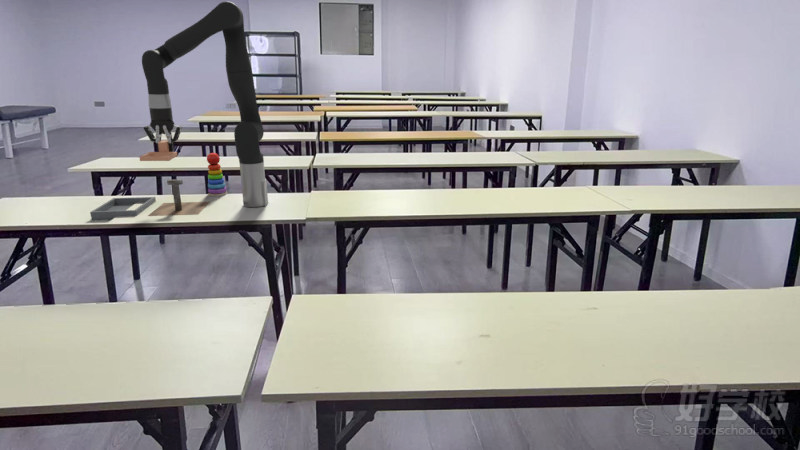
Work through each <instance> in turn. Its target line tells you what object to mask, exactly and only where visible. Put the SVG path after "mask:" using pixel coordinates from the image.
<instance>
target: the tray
mask: <svg viewBox="0 0 800 450" xmlns="http://www.w3.org/2000/svg"><path fill="white" fill-rule="evenodd" d="M155 202H157V200H156V196H145V197H144V196H143V197H141V196H140V197H138V196H137V197H113V198H111V199H110V200H108V201H106V202H104V203H102V204H101V205H100V206H98V207H96V208H95V209H93V210H91V211H90V212H89V213H90V217H91V218H90V219H91V221H102V220H105V221H106V220H114V219H116V218H117V217H133V216H134V217H135V216H138V215H140V214H141V213H142V212H144V211H145V210H146V209H148V208H149V207H151V206H152V205H153V204H155ZM137 203H138V204H139V203H142V204H140V206H138V207H136V208H135V209H130V210H128V209H129V208H131V207H132V206H134V205H135V204H137Z"/></svg>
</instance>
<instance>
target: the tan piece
mask: <svg viewBox="0 0 800 450" xmlns="http://www.w3.org/2000/svg"><path fill="white" fill-rule="evenodd" d="M158 147H159V152H158V151H149V152H148V151H147V153H144V154H142V155H140V156H138V157H139V161H140V162H170V161H172V160H173V159H175V158H177V157H178V152H177V151H173V152H169V147H168V140H161V141H160V142H158Z"/></svg>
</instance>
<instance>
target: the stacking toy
mask: <svg viewBox="0 0 800 450" xmlns="http://www.w3.org/2000/svg"><path fill="white" fill-rule="evenodd" d="M220 158H221V157H220V156H219V154H218V153H216V152H210V153H209V154H207V156H206V162H207V163H208V165H207V169H208V171H207V173H208V174H207V179H208V180H207V182H208V183H207V187H208V189H207V192H208V193H207V195H208V196H209V197H221V196H225V195H228V192H227V190H228V188H227V186H226V183H225V179H224V175H223V170H222V168H221V164H220V160H221V159H220Z"/></svg>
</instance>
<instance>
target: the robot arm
mask: <svg viewBox="0 0 800 450" xmlns="http://www.w3.org/2000/svg"><path fill="white" fill-rule="evenodd" d="M244 19H245V18H244V14H243V12H242V10H241V8H240V7H239V6H238V5H237V4H235V3H234V2H232V1H222V2H220V3H218V5H216V6H215V7H214V8H213V9H212V10H211V11H210V12H208V13H207V14H206V15H205V16H203V17H202V18H201V19H200V20H198V21H197V22H195V23H193V24H192V25H190V26H189V27H186V28H185V29H184V30H182V31H179V32H178V33H177V34H175V35H173V36H171V37H170V38H168V39H167V40H166V41H164V44H162V45H160V46H158V47H157V48H155V49H147V50H146V51H144V52H143V54H142V55H141V66H142V69H143V75H144V77H145V79H146V85H147V93H148V107H149V108H148V109H149V117H150V123H149V125H146V126H143V130H144V132H145V133H146V135H147V137H148V139H149V140H150V142H152V143H155V144H156V148H157V152H159V147H158V142H160V141H162V136H163V135H164V136H165V138H166V141H168V147H169V152H175V151H174V150H175V149H174V143H175V142H177V141H178V140H179V138H180V135H181V131H182V128H183V127H182V126H181V125H176V124H175V122H174V120H173V119H174V118H173V110H172V102H171V96H170V89H169V84H168V80H167V78H166V77H165V73H164V69H165V68H166V67H169V66H170V65H171V64H173V63H174V62H176V60H178V59H180V58H182V57H184V56H186V55H187V54H188V53H191V52H192V51H194V50H195V49H196V48H198V47H199V46H200V45H201V44H202V43H203V42H205V41H206V40H208V39H209V38H211V37H212V36H214V35H215V34H218V33H220V32H222V35H223V38H224V42H225V71H226V77H227V83H228V86H229V88H230V92H231V94H232V96H233V98H234V100H235V102H236V104H237V107H238V111H239V115H240V122H239V123H237V125H236V126H235V128H234V132H233V133H234V137H233V138H234V145H235V151H236V155H237V158H238V162H239V171H240V183H241V193H242V202H243V203H242V204H243V206H244V207H247V208H258V207H266V206H267V205H268V203H269V197H268V196H269V195H268V186H267V179H266V174H265V161H264V159H265V158H264V155H263V153H261V151H260V150H261V149H260V142H261V140H262V138H263V137H264V131H265V130H264V126H263V123H262V120H261V116H260V115H261V114H260V112H259V108H258V103H257V96H256V95H257V94H256V87H255V83H254V74H253V71H252V70H253V68H252V66H251V65H252V64H251V59H250V56H249V52H248V49H247V45H246V44H247V43H246V38H245V35H246V34H245V22H244ZM152 130H153V131H154V132H155V134H154V133H153V131H152ZM173 130H174V131H175V132H174V135H173V133H172V131H173Z"/></svg>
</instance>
